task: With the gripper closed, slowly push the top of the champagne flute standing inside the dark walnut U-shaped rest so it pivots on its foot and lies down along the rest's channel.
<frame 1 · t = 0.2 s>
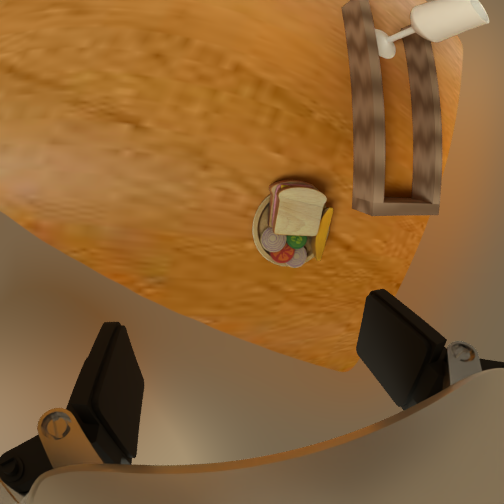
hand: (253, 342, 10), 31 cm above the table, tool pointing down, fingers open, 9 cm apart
toy sandwich meal: (288, 222, 42), on the table
champagne flute: (381, 43, 34), on the table
walnut U-rest: (389, 104, 38), on the table
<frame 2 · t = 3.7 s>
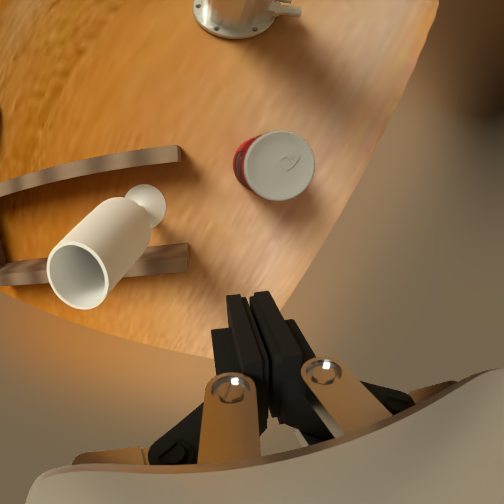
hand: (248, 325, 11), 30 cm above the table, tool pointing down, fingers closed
canned food: (259, 163, 38), on the table
champagne flute: (143, 206, 37), on the table
walnut U-rest: (67, 217, 34), on the table
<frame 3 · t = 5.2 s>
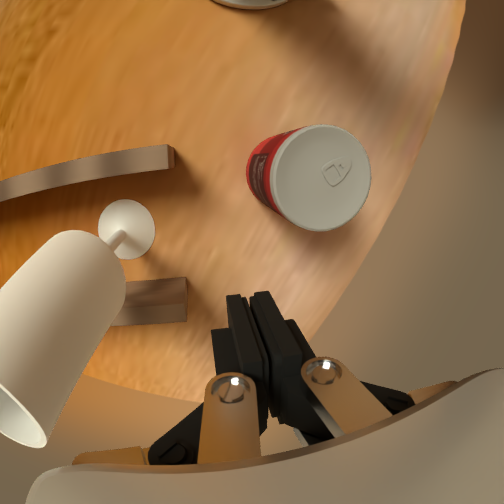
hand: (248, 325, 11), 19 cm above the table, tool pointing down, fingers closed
canned food: (280, 170, 28), on the table
champagne flute: (126, 229, 27), on the table
walnut U-rest: (33, 242, 25), on the table
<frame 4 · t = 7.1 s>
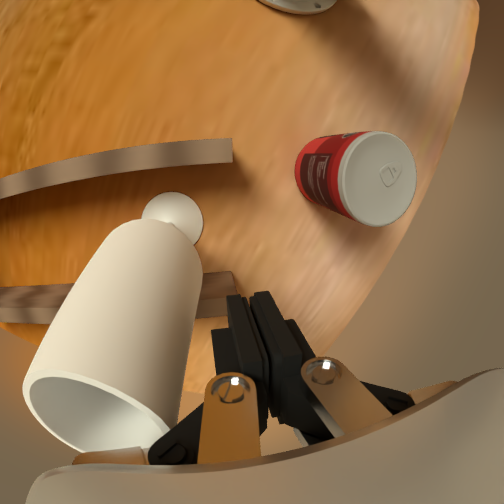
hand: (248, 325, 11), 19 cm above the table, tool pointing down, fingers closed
canned food: (324, 170, 29), on the table
champagne flute: (171, 223, 28), on the table, touching gripper
walnut U-rest: (65, 235, 26), on the table
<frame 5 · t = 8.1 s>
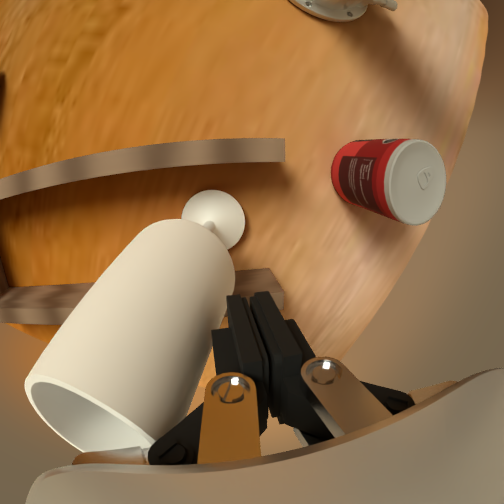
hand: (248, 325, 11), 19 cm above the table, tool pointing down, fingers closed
canned food: (356, 171, 30), on the table
champagne flute: (212, 221, 28), on the table
walnut U-rest: (97, 231, 26), on the table
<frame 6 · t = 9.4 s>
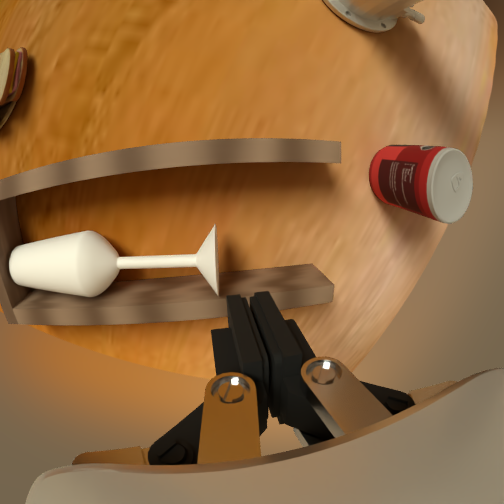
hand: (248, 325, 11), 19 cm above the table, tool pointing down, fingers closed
canned food: (389, 174, 31), on the table
champagne flute: (219, 259, 25), point 5 cm above the table, touching walnut U-rest
walnut U-rest: (142, 227, 27), on the table
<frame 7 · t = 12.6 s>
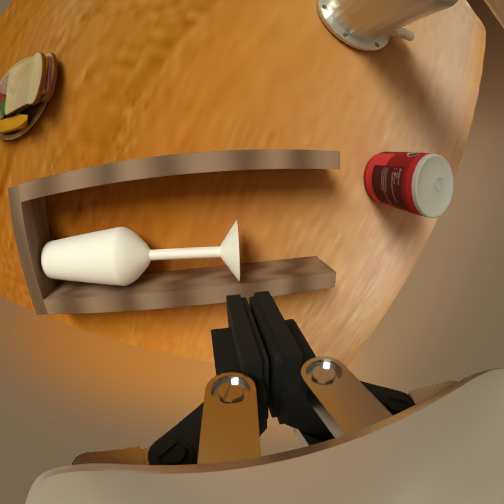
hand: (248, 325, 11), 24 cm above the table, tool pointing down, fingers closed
toy sandwich meal: (25, 94, 22), on the table
canned food: (382, 177, 36), on the table
champagne flute: (239, 250, 30), point 5 cm above the table, touching walnut U-rest
walnut U-rest: (168, 224, 32), on the table
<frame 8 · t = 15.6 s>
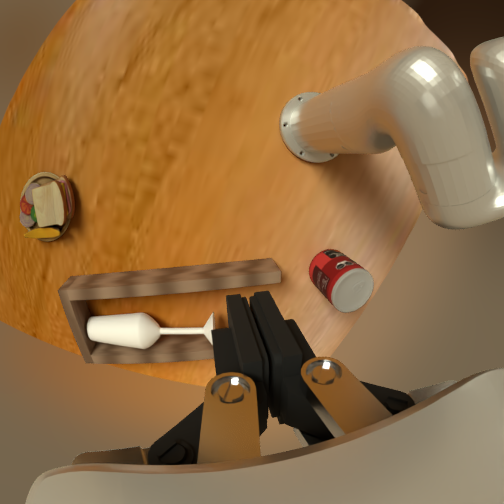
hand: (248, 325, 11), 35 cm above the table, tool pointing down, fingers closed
toy sandwich meal: (49, 203, 38), on the table
canned food: (325, 266, 52), on the table
champagne flute: (215, 330, 46), point 5 cm above the table, touching walnut U-rest
walnut U-rest: (170, 308, 48), on the table
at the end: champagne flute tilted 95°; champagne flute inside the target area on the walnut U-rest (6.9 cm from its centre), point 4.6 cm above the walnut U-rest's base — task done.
